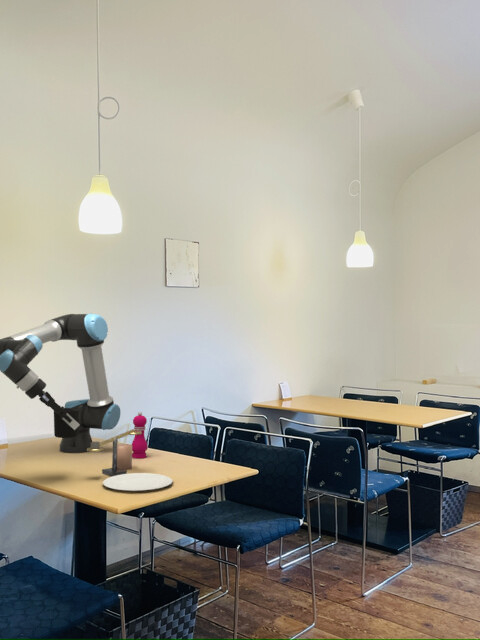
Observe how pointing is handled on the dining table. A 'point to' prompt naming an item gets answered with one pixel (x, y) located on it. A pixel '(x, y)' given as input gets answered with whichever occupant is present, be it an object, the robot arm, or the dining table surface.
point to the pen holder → (62, 427)
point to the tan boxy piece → (124, 456)
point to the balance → (96, 447)
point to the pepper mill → (139, 437)
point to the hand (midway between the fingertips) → (75, 425)
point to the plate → (137, 482)
